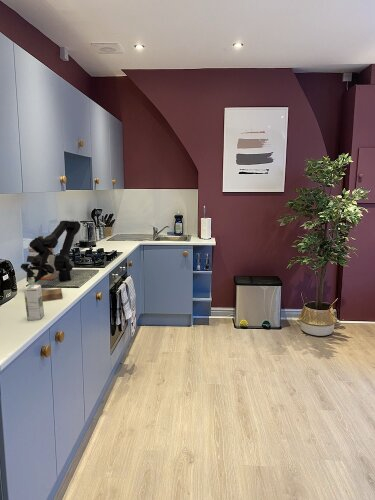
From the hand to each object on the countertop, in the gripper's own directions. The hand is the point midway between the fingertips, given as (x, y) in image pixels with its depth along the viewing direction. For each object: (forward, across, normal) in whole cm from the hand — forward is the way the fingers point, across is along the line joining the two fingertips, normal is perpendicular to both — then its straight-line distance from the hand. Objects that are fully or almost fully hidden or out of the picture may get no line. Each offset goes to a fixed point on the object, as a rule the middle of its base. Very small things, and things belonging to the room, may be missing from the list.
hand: (31, 281), depth 205 cm
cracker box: (-16, -16, +26) cm, 34 cm away
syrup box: (+26, +28, -16) cm, 42 cm away
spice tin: (+4, 0, +6) cm, 7 cm away
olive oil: (-24, -26, +35) cm, 50 cm away
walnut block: (+7, +15, +3) cm, 17 cm away
